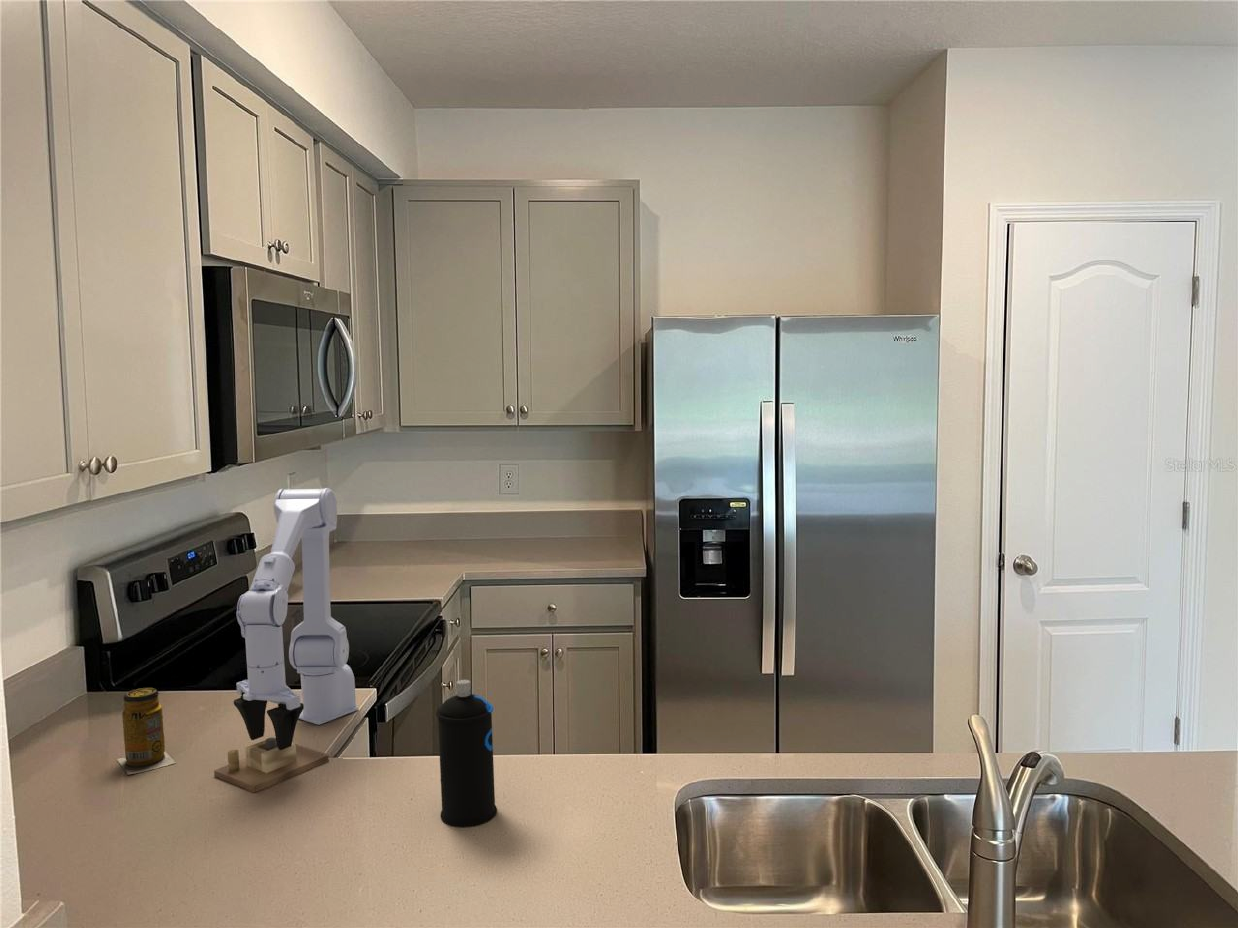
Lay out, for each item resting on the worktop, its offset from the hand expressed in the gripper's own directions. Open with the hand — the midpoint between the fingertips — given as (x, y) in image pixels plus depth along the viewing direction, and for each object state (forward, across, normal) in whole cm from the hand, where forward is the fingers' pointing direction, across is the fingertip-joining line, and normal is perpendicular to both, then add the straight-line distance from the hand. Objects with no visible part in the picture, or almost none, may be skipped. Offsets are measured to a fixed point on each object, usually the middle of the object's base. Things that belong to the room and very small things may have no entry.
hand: (270, 742), depth 155 cm
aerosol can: (+5, +39, +6) cm, 40 cm away
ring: (+3, 0, 0) cm, 3 cm away
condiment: (+5, -21, -10) cm, 24 cm away
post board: (+4, 0, 0) cm, 4 cm away
